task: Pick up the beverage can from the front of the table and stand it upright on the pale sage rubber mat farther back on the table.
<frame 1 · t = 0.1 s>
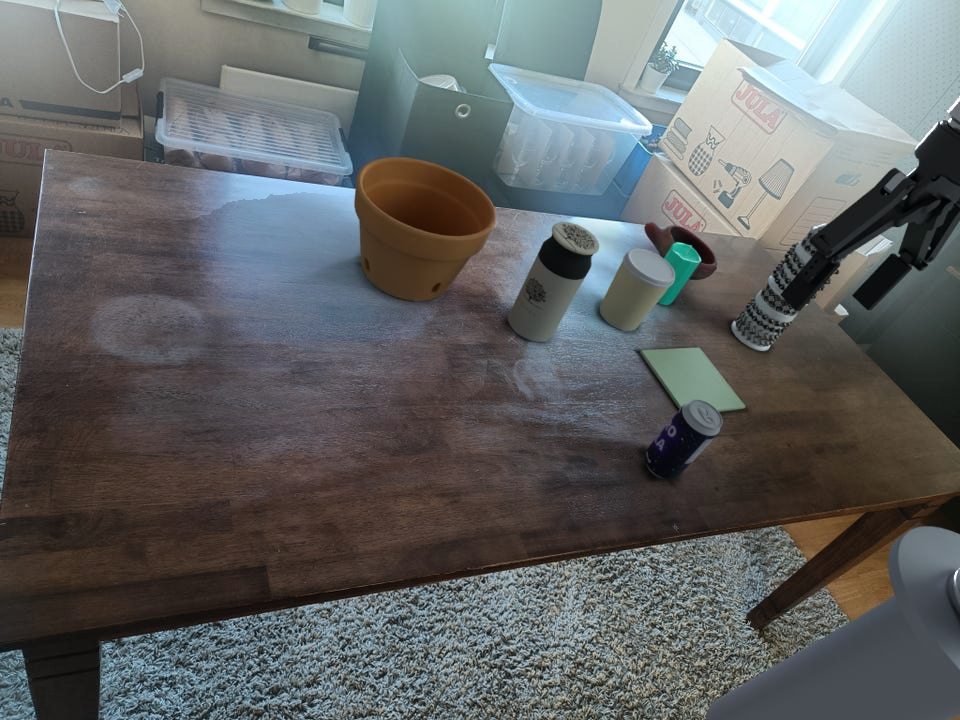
hand: (826, 303, 74), 30 cm above the table, tool pointing down, fingers open, 13 cm apart
candle: (658, 295, 124), on the table
decorative candle: (749, 336, 124), on the table
travel mug: (529, 326, 103), on the table
cream lidded canister: (618, 317, 114), on the table
flower pot: (404, 273, 102), on the table
beverage can: (658, 467, 90), on the table
mat: (691, 380, 107), on the table
bowl: (669, 270, 133), on the table
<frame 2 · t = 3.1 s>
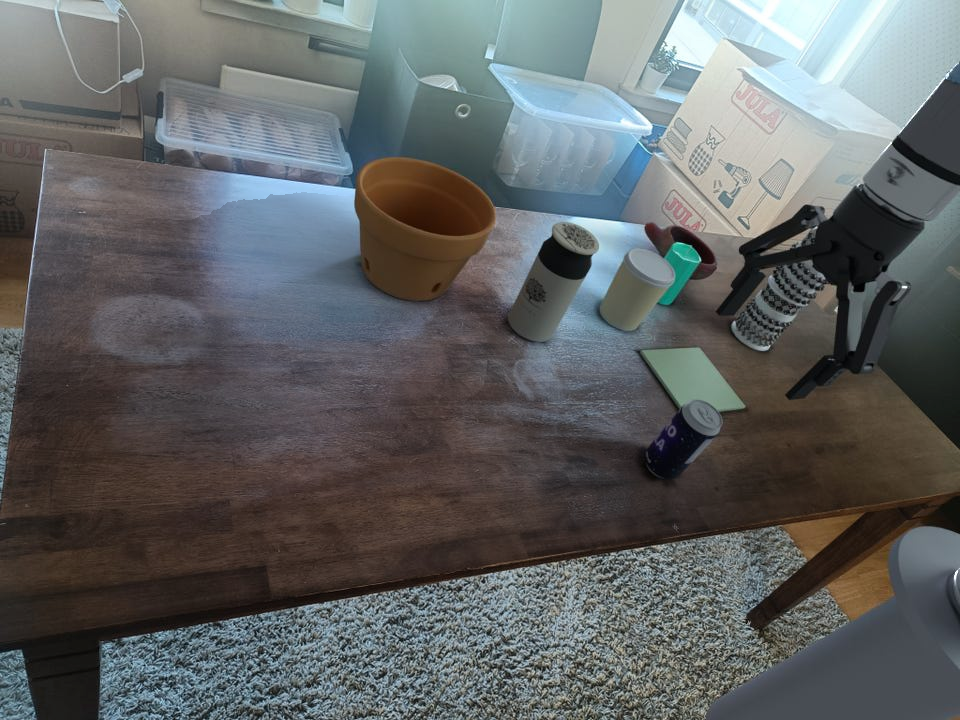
hand: (757, 353, 75), 23 cm above the table, tool pointing down, fingers open, 13 cm apart
nothing on the table moved.
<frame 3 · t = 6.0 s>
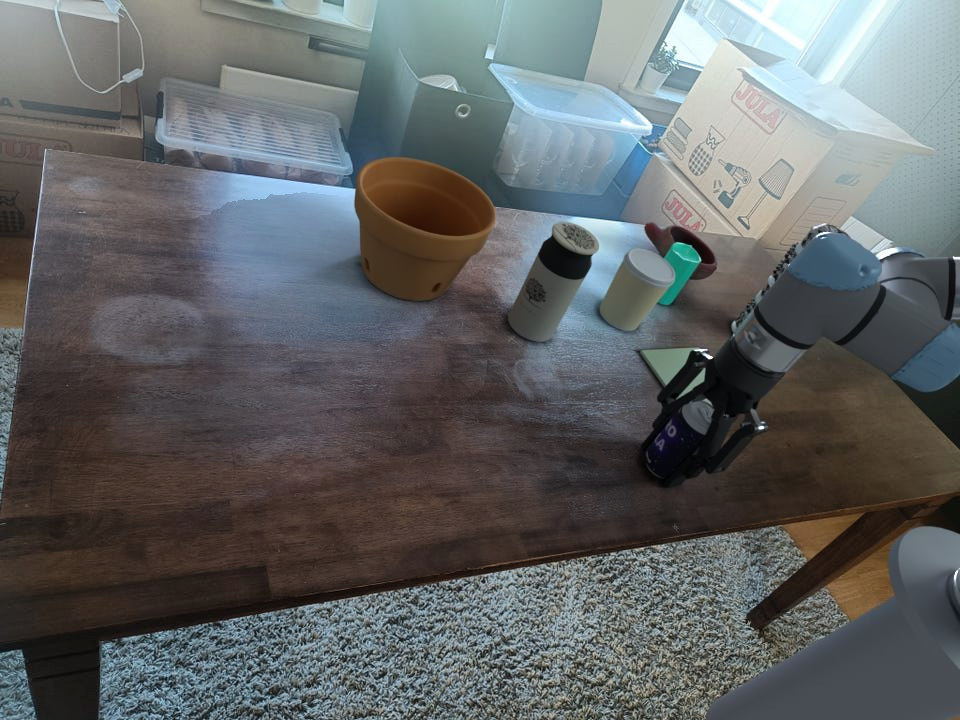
hand: (660, 465, 89), 0 cm above the table, tool pointing down, fingers closed on beverage can, 6 cm apart
beverage can: (658, 467, 90), on the table, touching gripper
everything else where it was.
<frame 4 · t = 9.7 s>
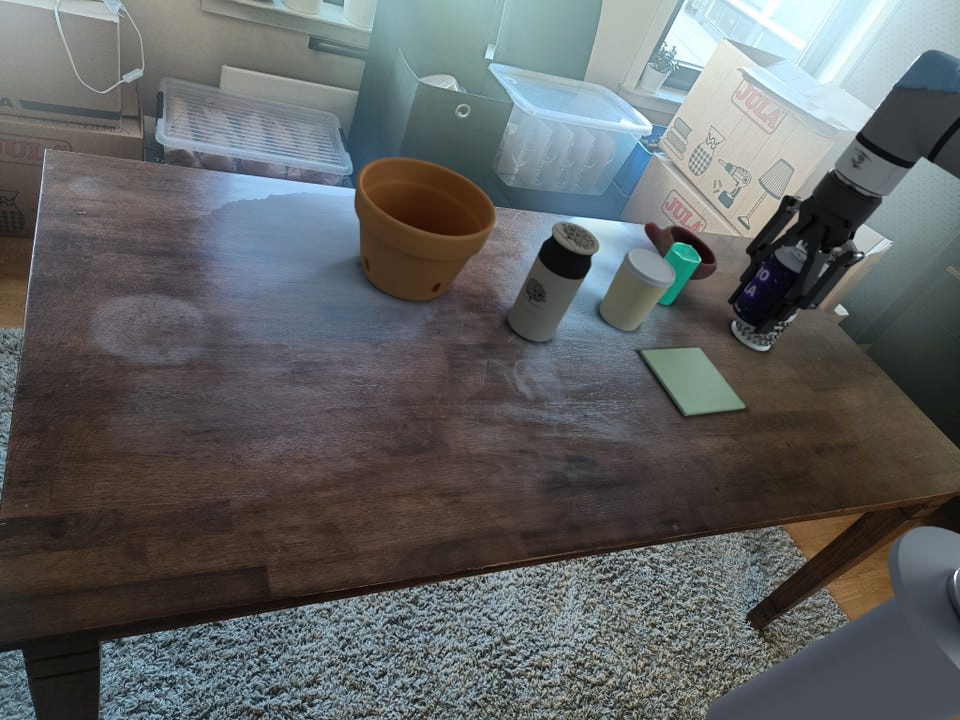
hand: (747, 317, 94), 17 cm above the table, tool pointing down, fingers closed on beverage can, 6 cm apart
beverage can: (745, 319, 94), point 16 cm above the table, touching gripper
everything else where it was.
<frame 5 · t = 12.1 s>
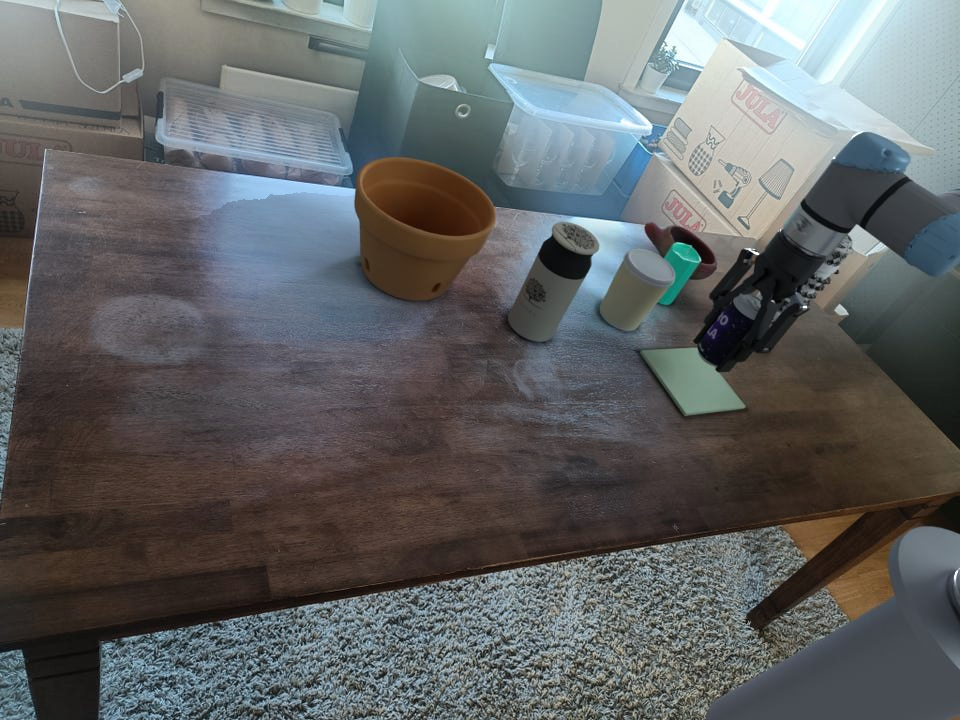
hand: (710, 355, 103), 6 cm above the table, tool pointing down, fingers closed on beverage can, 6 cm apart
beverage can: (709, 358, 103), point 5 cm above the table, touching gripper
everything else where it was.
when the fingers open (1 cm above the table, at t = 13.7 s): beverage can stays where it is, resting on mat.
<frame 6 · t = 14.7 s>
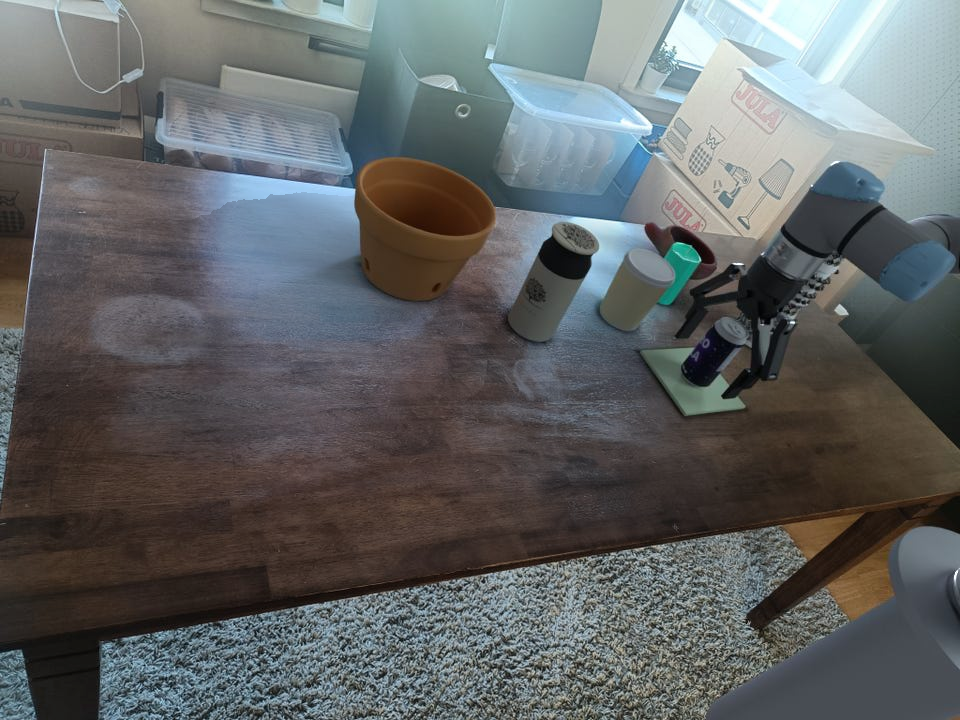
hand: (703, 366, 105), 4 cm above the table, tool pointing down, fingers open, 13 cm apart
beverage can: (692, 378, 107), resting on mat
everything else where it was.
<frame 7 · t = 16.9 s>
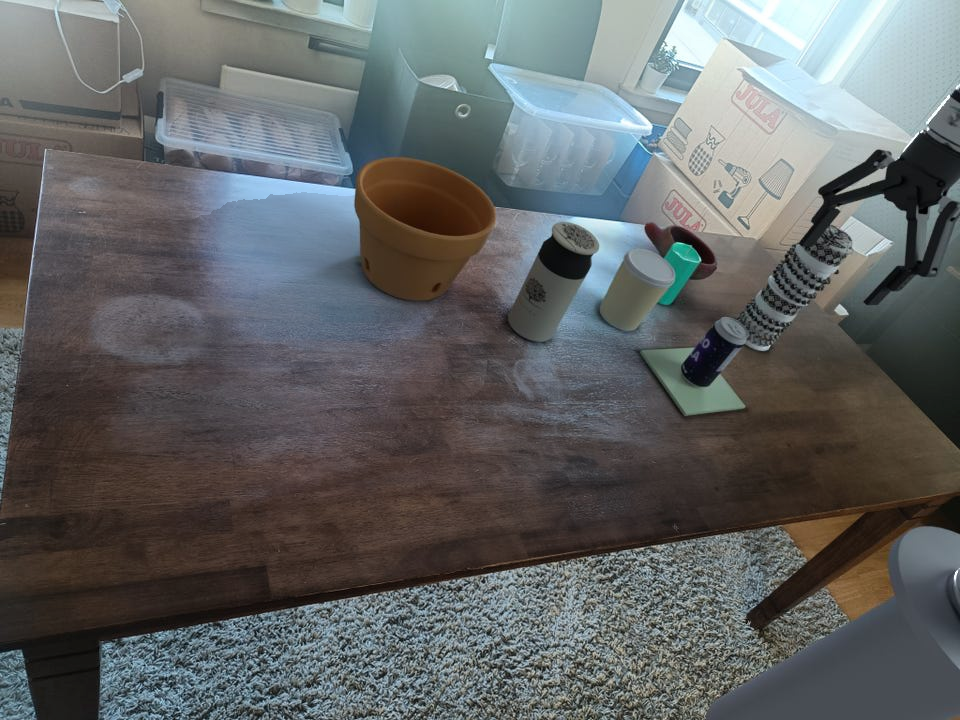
hand: (836, 273, 93), 26 cm above the table, tool pointing down, fingers open, 13 cm apart
nothing on the table moved.
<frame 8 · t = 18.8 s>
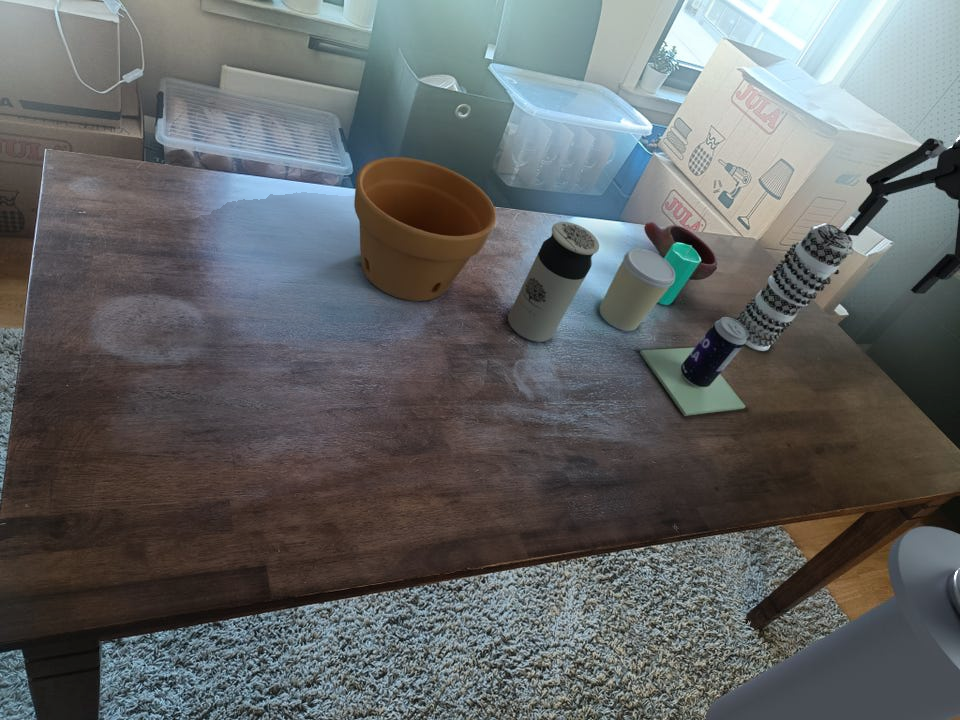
hand: (882, 261, 94), 29 cm above the table, tool pointing down, fingers open, 13 cm apart
nothing on the table moved.
at the end: beverage can inside the target area on the mat (0.0 cm from its centre), point 0.4 cm above the mat's base; beverage can tilted 0°; the gripper is holding nothing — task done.
